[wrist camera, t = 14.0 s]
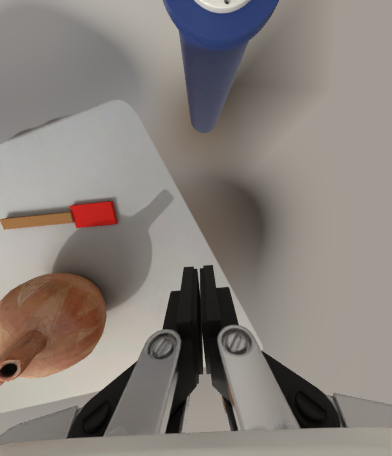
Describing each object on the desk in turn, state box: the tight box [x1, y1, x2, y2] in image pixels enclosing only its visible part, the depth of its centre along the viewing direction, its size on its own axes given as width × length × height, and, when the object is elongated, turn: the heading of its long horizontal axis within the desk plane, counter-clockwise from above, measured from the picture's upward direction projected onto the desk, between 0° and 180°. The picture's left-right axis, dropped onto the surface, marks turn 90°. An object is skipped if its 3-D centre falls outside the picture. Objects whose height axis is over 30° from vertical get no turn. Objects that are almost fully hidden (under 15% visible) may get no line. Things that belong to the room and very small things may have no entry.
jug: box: [0, 273, 106, 385], centre depth 32 cm, size 18×18×20 cm
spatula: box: [0, 201, 117, 229], centre depth 35 cm, size 4×22×1 cm, turn 96°
